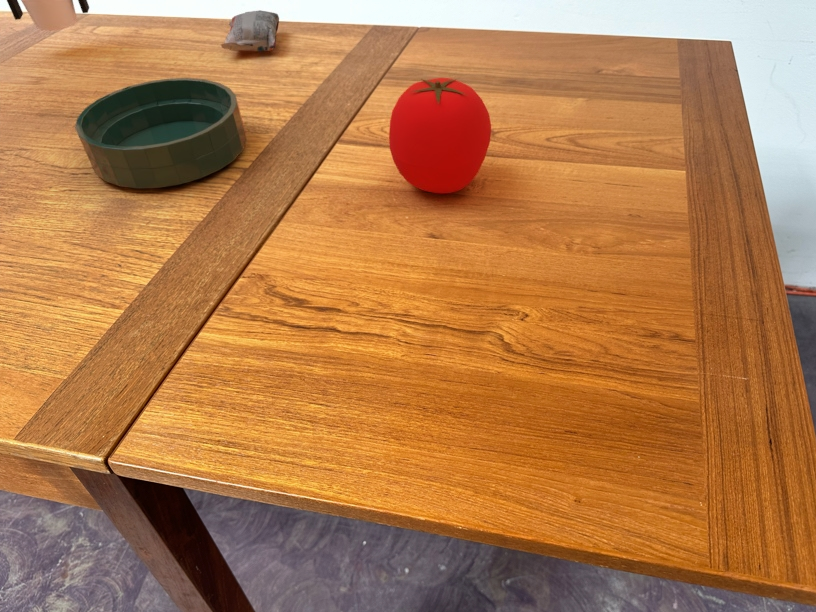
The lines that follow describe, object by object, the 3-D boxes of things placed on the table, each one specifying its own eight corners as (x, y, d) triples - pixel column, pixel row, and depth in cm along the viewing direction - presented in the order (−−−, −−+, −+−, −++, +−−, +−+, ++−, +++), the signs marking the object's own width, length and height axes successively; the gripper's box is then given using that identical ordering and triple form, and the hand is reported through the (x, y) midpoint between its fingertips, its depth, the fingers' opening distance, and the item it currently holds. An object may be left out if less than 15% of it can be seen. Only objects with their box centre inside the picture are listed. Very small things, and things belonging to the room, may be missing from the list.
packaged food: (225, 61, 109) (217, 30, 105) (233, 34, 117) (226, 5, 114) (278, 58, 110) (273, 27, 106) (282, 32, 118) (277, 2, 114)
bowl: (88, 205, 79) (66, 160, 75) (101, 131, 92) (83, 89, 88) (252, 178, 83) (241, 133, 78) (243, 110, 96) (232, 69, 92)
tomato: (425, 220, 75) (418, 115, 66) (375, 176, 82) (363, 76, 73) (512, 186, 80) (517, 83, 71) (458, 147, 87) (456, 49, 78)
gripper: (-112, -147, 88) (-27, 28, 104) (66, -156, 93) (122, 13, 108) (-96, -155, 94) (-17, 13, 109) (72, -164, 98) (125, -1, 113)
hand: (52, 13), depth 109 cm, fingers closed on foam cup, 9 cm apart
